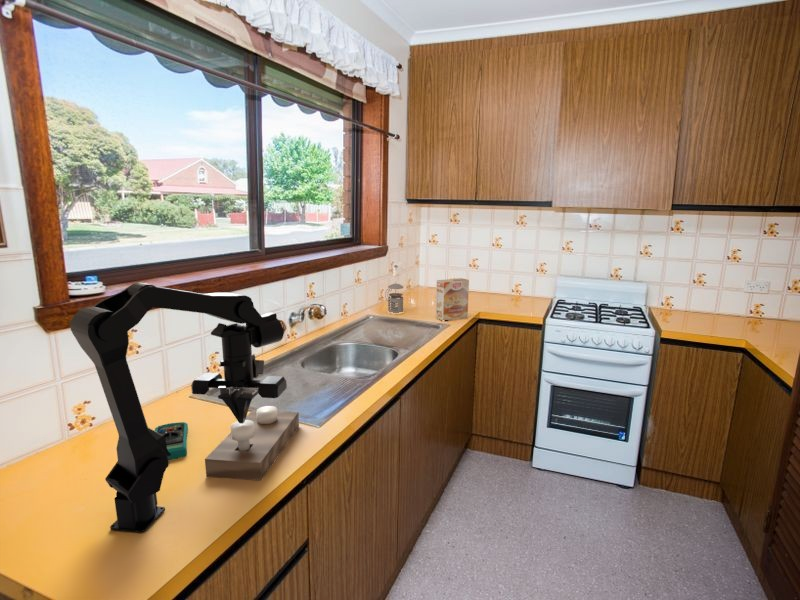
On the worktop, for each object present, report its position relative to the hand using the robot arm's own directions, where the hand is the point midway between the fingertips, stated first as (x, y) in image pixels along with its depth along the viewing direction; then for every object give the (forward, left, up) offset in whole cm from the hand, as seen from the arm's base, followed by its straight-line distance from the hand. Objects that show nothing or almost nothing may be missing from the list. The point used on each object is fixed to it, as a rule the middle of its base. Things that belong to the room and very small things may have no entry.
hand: (242, 422), depth 101 cm
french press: (+149, -14, -10) cm, 150 cm away
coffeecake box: (+139, -44, -10) cm, 146 cm away
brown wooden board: (+7, 0, -10) cm, 12 cm away
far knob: (+13, 0, -10) cm, 16 cm away
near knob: (0, 0, -7) cm, 7 cm away
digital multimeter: (+6, +21, -10) cm, 24 cm away
